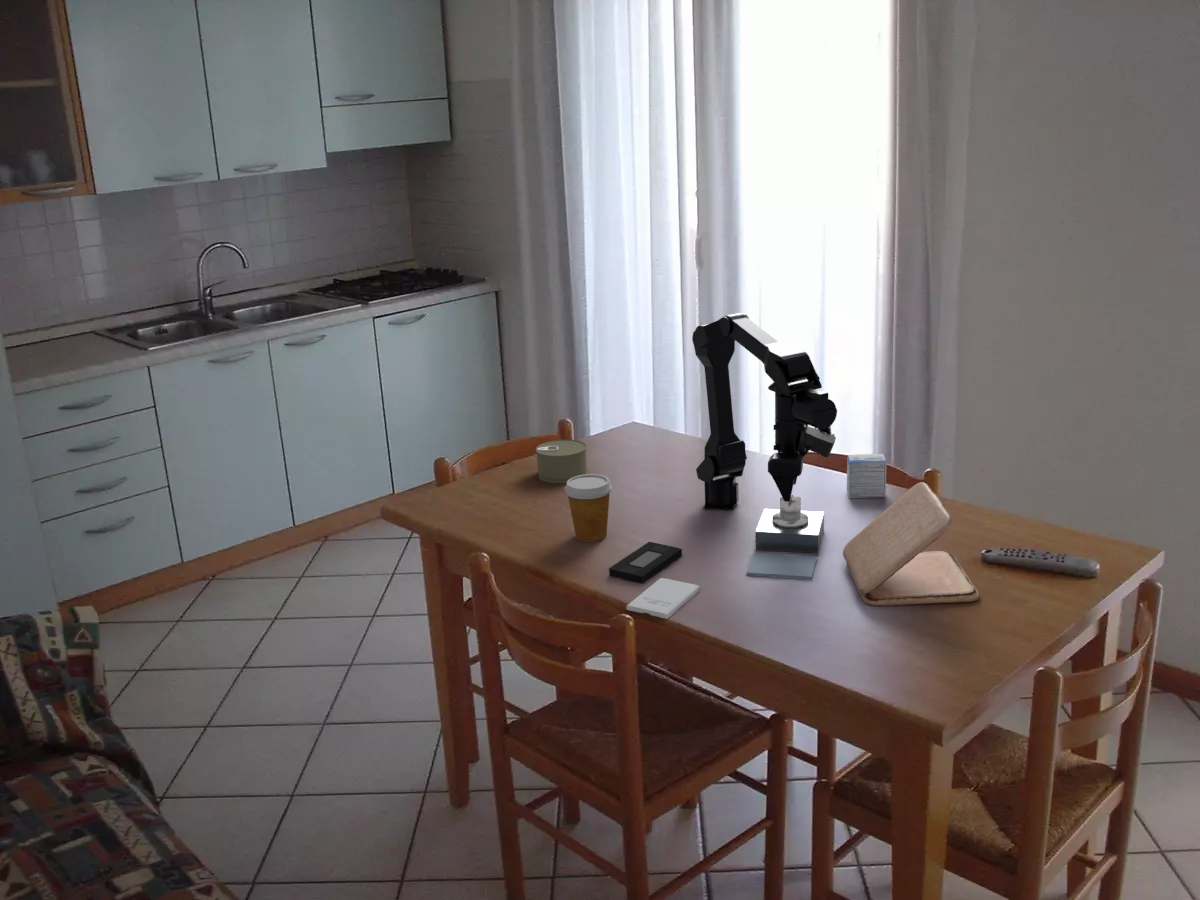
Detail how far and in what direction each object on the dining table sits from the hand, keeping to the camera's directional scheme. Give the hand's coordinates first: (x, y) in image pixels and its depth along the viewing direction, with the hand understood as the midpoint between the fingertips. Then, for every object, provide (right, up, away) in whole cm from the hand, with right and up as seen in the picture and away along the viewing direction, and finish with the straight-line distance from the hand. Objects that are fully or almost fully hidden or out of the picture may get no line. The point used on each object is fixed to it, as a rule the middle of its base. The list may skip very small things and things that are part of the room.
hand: (790, 492), depth 224 cm
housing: (+1, -10, +3) cm, 10 cm away
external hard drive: (-26, -19, -19) cm, 37 cm away
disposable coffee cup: (-39, -10, +11) cm, 41 cm away
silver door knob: (+1, -9, +3) cm, 10 cm away
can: (-46, +2, +47) cm, 66 cm away
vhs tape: (-28, -14, -4) cm, 32 cm away
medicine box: (+20, -2, +24) cm, 32 cm away
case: (+19, -16, -17) cm, 29 cm away
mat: (-3, -14, -9) cm, 16 cm away
